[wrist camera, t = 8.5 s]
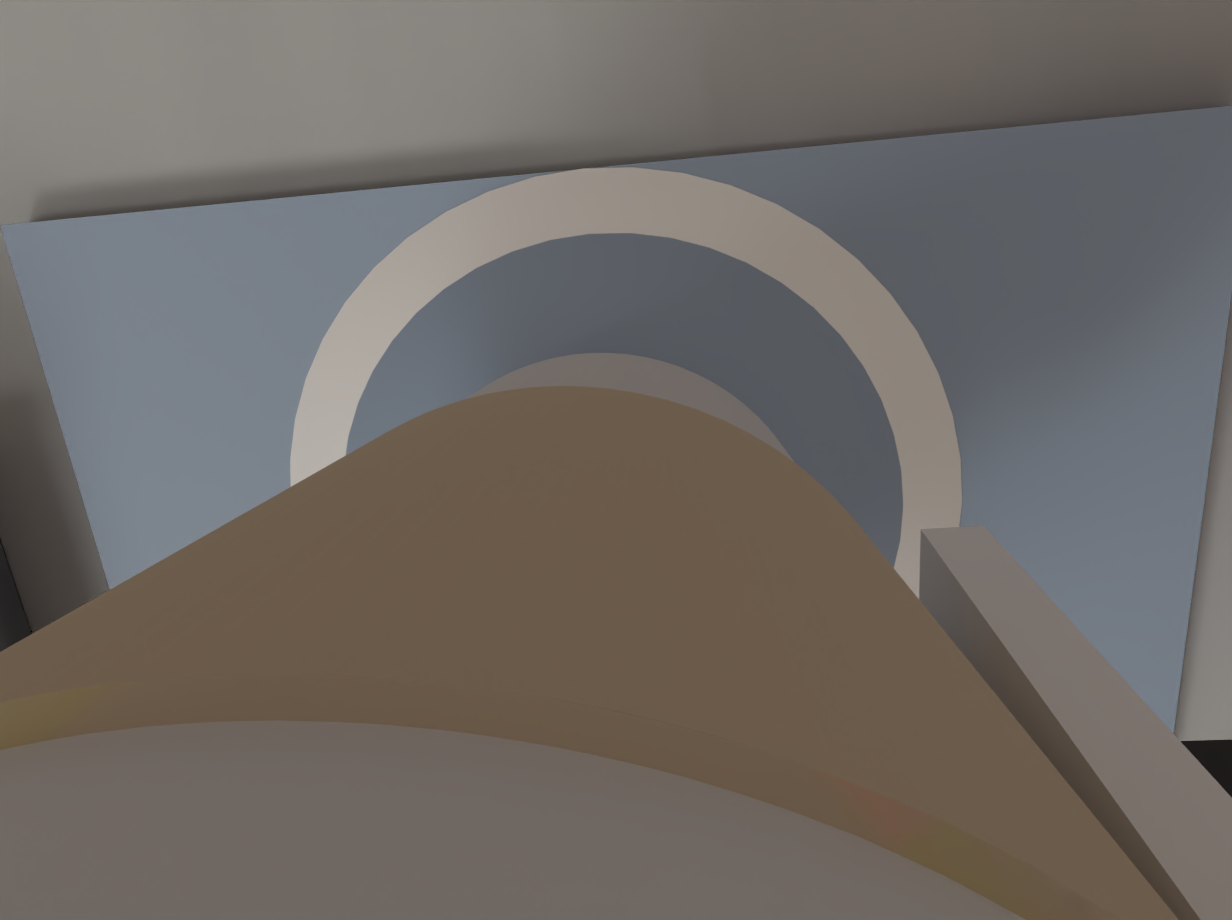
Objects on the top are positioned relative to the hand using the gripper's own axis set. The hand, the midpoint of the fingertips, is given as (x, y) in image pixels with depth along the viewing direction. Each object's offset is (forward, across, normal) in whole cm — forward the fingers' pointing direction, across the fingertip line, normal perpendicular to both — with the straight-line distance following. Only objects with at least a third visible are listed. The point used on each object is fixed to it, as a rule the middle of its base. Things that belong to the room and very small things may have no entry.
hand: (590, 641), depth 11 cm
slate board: (+5, 0, 0) cm, 5 cm away
